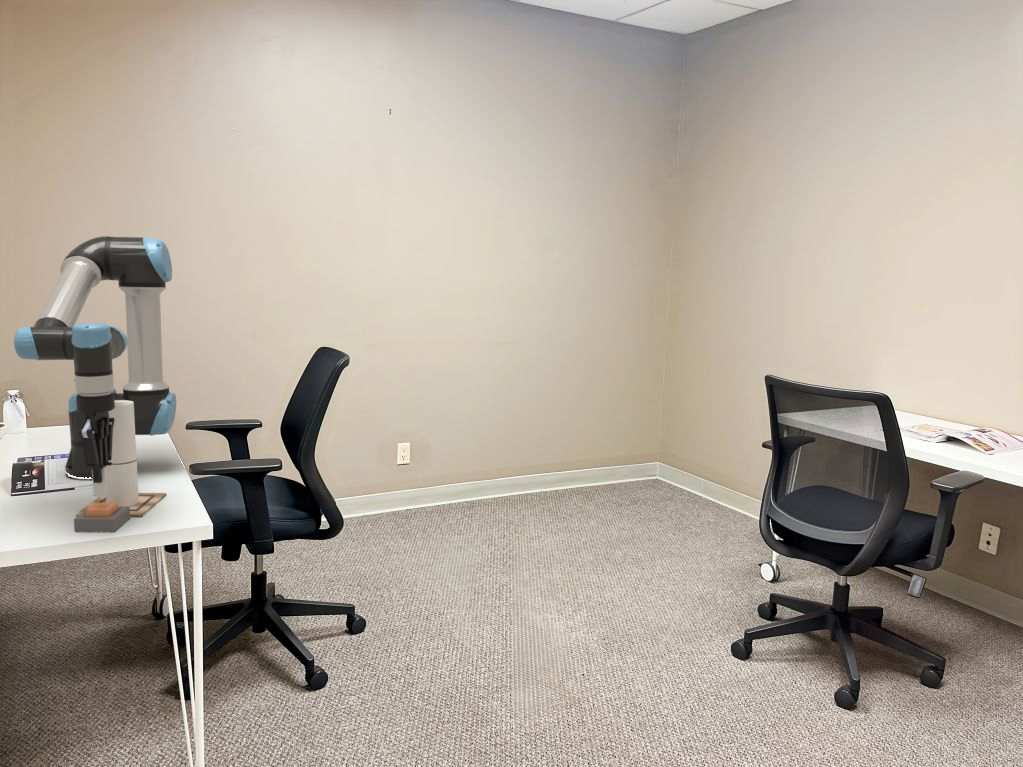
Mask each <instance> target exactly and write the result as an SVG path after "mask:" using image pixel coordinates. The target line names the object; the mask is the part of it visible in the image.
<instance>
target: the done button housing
mask: <svg viewBox="0 0 1023 767" xmlns="http://www.w3.org/2000/svg"><path fill="white" fill-rule="evenodd" d="M130 519H131V517H130V507H128V506H118V511H117V512H115V513H114V514H113V515H112V516H110V517H86V511H84V512H83V513H81V514H80V515H79V516H76V517H75V518H74V519H73V526H74V532H75V531H76V532H75V533H78V532H77V531H84V532H83V533H86V532H85V531H88V532H87V533H94V532H93V531H98V532H97V533H101V532H100V531H103V532H102V533H107V532H106V531H109V532H108V533H113V532H112V531H115V532H116V531H118V530H119V529H120V528H121V527H122V526H124V525H125V524H126V523H127V522H128V521H129V520H130ZM127 520H128V521H127ZM126 521H127V522H126ZM125 522H126V523H125ZM124 523H125V524H124ZM120 526H121V527H120ZM119 527H120V528H119ZM118 528H119V529H118ZM117 529H118V530H117Z"/></svg>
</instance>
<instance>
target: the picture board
mask: <svg viewBox="0 0 1023 767" xmlns="http://www.w3.org/2000/svg"><path fill="white" fill-rule="evenodd" d="M138 496H139V502H138V503H137V504H135V505H132V506H128V507H130V516H140V517H139V518H142V517H144V516H145V515H146V514H147V513H148V512H149V511H150V510H152V509H153V508H154V507H155V506H156V505H157V504H158V503H159V502H160V501H162V500H163V499H164V498H165V497H166V496H167V492H138ZM94 503H106V496H98V497H97V498H96V499H94V500H93V501H91V503H90V502H89V504H87V505H86V506H85V507H84V508H82V509H80V510H79V511H78V512H77V513H76V514H75V516H76V517H77V516H79V515H80V514H81V513H83V512H84V511H86V509H88V508H89V507H90V506H92V505H93V504H94ZM153 506H154V507H153ZM152 507H153V508H152ZM147 511H148V512H147ZM146 512H147V513H146ZM145 513H146V514H145ZM144 514H145V515H144ZM143 515H144V516H143ZM141 516H142V517H141Z"/></svg>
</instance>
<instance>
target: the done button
mask: <svg viewBox="0 0 1023 767" xmlns="http://www.w3.org/2000/svg"><path fill="white" fill-rule="evenodd" d="M117 511H118V503H94V504H93V505H92V506H90V507H89V508H88V509H86V517H110V516H112V515H113V514H114V513H115V512H117Z"/></svg>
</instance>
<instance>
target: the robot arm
mask: <svg viewBox="0 0 1023 767" xmlns="http://www.w3.org/2000/svg"><path fill="white" fill-rule="evenodd" d="M59 270H60V274H61V275H60V277H59V278H58V280H57V282H56V284H55V286H54V288H53V289H52V291H51V294H50V295H49V297H48V299H47V301H46V302H45V305H44V306H43V308H42V310H41V313H40V314H39V316H38V317H37V320H36V321H35V323H34V325H33V326H30V325H28V326H21V327H19V328H17V330H16V331H15V333H14V339H13V345H14V350H15V352H16V355H17V356H18V357H19V358H20V359H23V360H34V361H65V360H66V361H70V360H71V361H73V365H74V366H73V368H74V369H73V370H74V378H73V382H74V383H75V384H74V385H75V392H74V393H72V395H70V396H69V398H68V410H67V413H68V423H69V434H70V435H69V436H70V450H69V453H68V457H67V460H66V463H65V467H64V471H66V472H67V473H69V474H70V475H73V476H76V477H84V478H85V477H87V478H89V477H91V478H92V480H91V481H92V493H93V494H92V495H93V497H100V496H106V495H108V494H109V491H108V474H107V466H111V464H112V462H108V461H111V459H112V440H113V426H114V421H115V419H114V418H109V413H108V411H111V410H113V409H114V408H115V402H114V400H128V401H133V402H134V419H135V436H158V435H166V434H168V433H169V432H170V431H171V429H172V428H173V425H174V422H175V417H176V411H177V396H176V394H175V393H173V392H172V391H170V386H169V384H167V383H166V382H165V381H164V378H163V377H164V375H163V348H162V345H163V344H162V318H161V317H162V316H161V294H162V293H163V292H164V290H166V284H167V283H169V282H171V281H172V278H173V267H172V259H171V256H170V252H169V248H168V247H167V245H166V243H165V242H164V241H163V240H162V239H160V238H156V237H155V238H153V237H147V236H144V237H140V236H139V237H135V236H134V237H131V236H109V235H108V236H105V235H104V236H96V237H93V238H90V239H88V240H86V241H84V242H82V243H81V244H79V245H77V246H75V248H73V249H72V250H71V251H70V252H68V254H67V255H66V256H65V257H64V259H63V261H62V263H61V264H60V268H59ZM101 281H117V282H118V289H120V290H121V291H122V292H123V293H124V295H125V296H124V297H125V298H124V299H125V318H126V319H125V324H126V333H125V332H124V330H122V329H121V328H119V327H116V326H113V325H109V324H107V323H106V322H105V323H104V322H82V323H77V321H78V319H79V317H80V314H81V312H82V311H83V308H84V306H85V304H86V302H87V300H88V298H89V295H90V293H91V291H92V289H93V288H95V287H97V286H98V285H99V284H100V282H101ZM126 349H127V367H128V368H127V369H128V370H127V371H128V381H127V383H126V384H125V385H124V386H123V387H122V393H121V392H120V393H117V390H116V388H115V383H114V373H113V372H114V371H113V360H114V359H117V358H120V357H121V355H122V354H123V353H124V352H125V351H126Z"/></svg>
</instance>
